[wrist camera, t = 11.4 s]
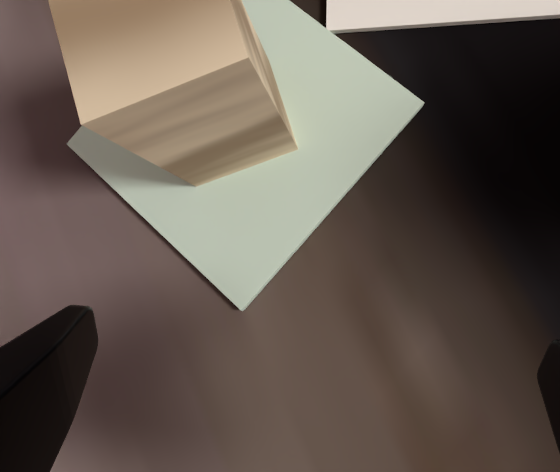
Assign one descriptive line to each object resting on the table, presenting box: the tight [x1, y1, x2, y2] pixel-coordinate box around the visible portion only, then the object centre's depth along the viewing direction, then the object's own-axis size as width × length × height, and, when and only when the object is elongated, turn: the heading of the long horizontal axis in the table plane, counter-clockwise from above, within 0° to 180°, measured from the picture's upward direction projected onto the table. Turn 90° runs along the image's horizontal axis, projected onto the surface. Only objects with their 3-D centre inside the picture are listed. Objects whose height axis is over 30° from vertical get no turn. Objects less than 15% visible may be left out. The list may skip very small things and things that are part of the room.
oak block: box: [48, 0, 298, 187], centre depth 18 cm, size 4×5×9 cm
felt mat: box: [67, 0, 424, 311], centre depth 22 cm, size 12×12×1 cm
